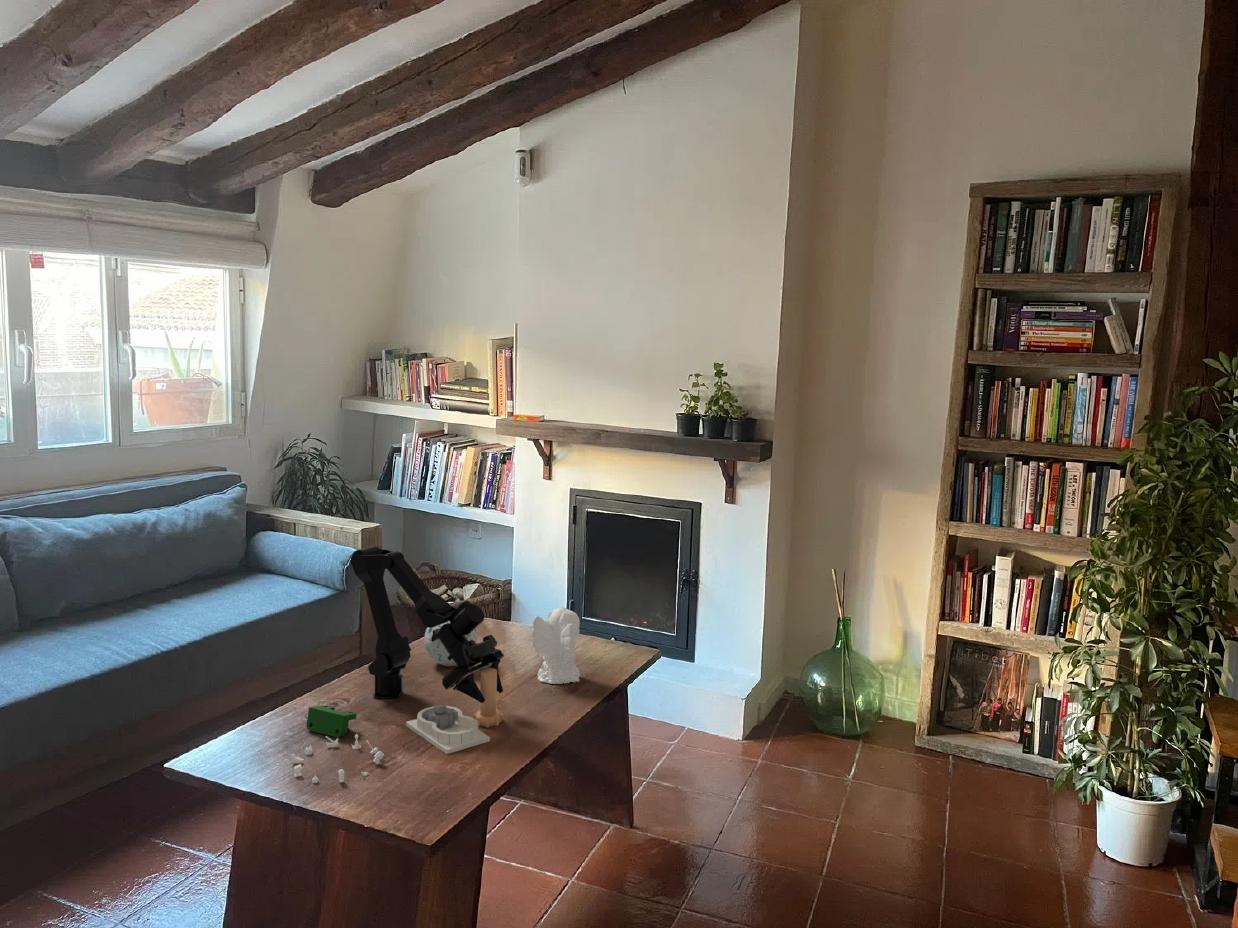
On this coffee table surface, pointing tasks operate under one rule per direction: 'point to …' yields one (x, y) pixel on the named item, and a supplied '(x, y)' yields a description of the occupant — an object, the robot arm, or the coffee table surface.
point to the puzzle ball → (437, 648)
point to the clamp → (329, 720)
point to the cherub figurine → (557, 645)
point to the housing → (447, 728)
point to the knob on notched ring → (488, 699)
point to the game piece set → (309, 749)
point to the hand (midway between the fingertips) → (492, 696)
